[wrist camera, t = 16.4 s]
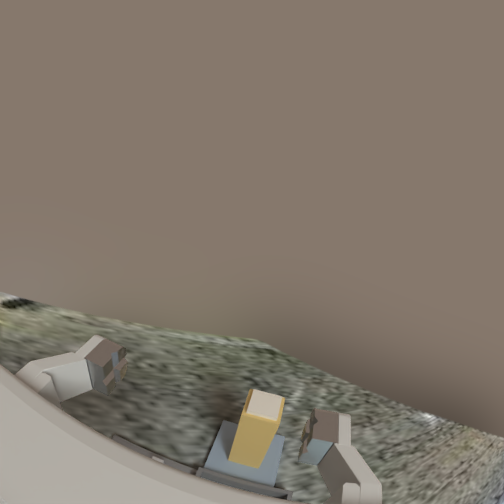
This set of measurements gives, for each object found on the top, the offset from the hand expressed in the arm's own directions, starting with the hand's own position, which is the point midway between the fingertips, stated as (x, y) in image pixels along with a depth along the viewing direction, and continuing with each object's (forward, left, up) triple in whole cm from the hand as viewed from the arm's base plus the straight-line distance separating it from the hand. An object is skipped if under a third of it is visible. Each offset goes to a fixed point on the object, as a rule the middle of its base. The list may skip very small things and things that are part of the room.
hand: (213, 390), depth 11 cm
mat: (+3, +17, -32) cm, 36 cm away
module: (+3, +17, -31) cm, 35 cm away
